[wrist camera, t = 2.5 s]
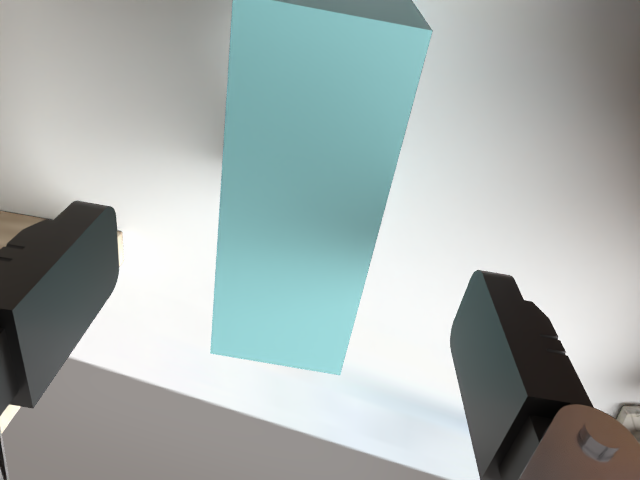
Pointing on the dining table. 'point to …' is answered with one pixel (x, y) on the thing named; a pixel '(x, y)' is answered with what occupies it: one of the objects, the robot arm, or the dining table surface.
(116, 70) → the dining table surface
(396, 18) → the teal arch block
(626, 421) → the packaged product
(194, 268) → the dining table surface
